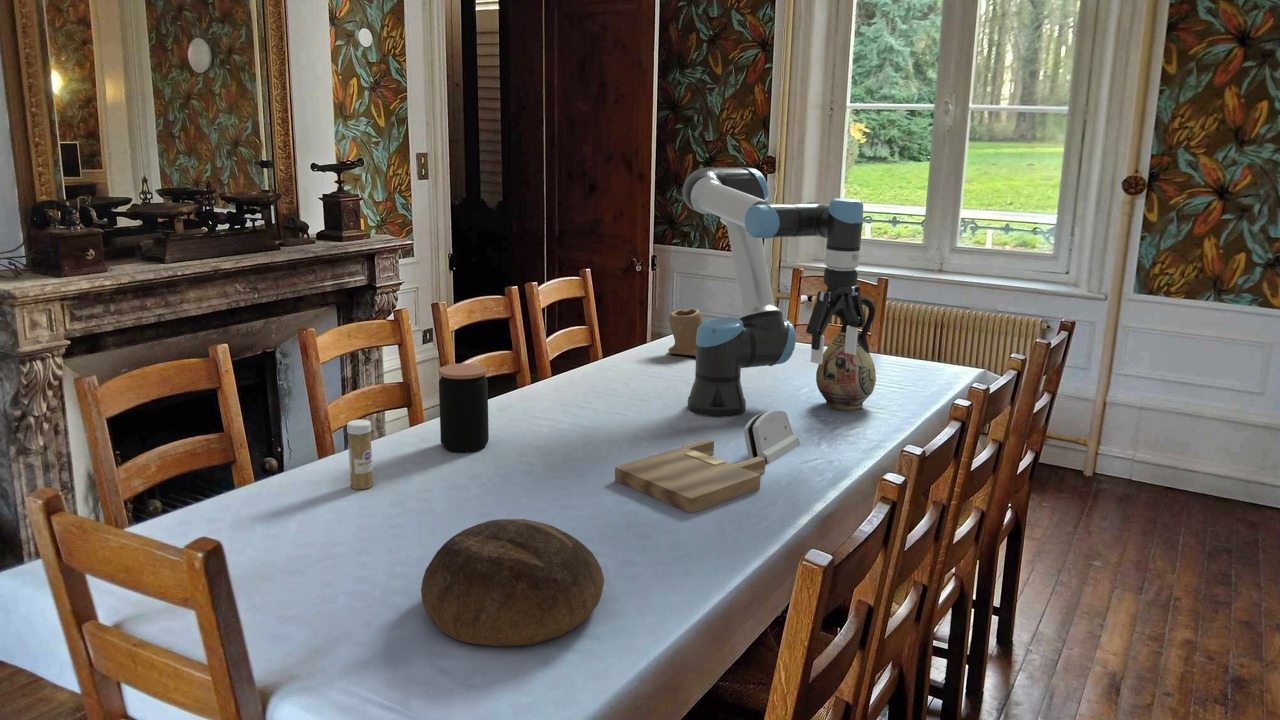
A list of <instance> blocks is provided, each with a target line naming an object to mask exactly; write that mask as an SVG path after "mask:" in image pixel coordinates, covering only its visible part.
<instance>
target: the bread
mask: <svg viewBox="0 0 1280 720" xmlns="http://www.w3.org/2000/svg"><path fill="white" fill-rule="evenodd" d="M604 584H605V577H604V573H603V569H602V568H601V565H600V563H599V561H598V560H597V558H596V556H595V555H594V553H593V552H592V551H591V550H590V549H589V548H588V547H587V546H586V545H585V544H583V543H582V542H581V541H580V540H579V539H577V538H576V537H574V536H573V535H571V534H570V533H568V532H565V531H564V530H561V529H559V528H557V527H556V526H554V525H550V524H547V523H545V522H539V521H535V520H530V519H524V518H517V519H516V518H515V519H514V518H501V519H491V520H487V521H484V522H481V523H477V524H476V525H473V526H469V527H468V528H464V529H463V530H461V531H460V532H458V533H456V534H455V535H453V536H452V537H451V538H449V539H448V540H447V541H446V542H445V543H443V545H442V546H440V548H439V549H438V550H437V551H436V553H435V554H434V556H433V558H432V559H431V560H430V563H429V564H428V566H427V567H425V571H424V574H423V577H422V581H421V585H420V586H421V587H420V592H421V593H420V595H421V602H422V604H423V608H424V610H425V611H426V613H427V615H428V616H429V617H430V619H431V621H432V622H433V623H434V625H435V626H436V627H437V628H438V629H439V630H440V631H441V632H442V633H443V634H446V636H449V637H451V638H452V639H455V640H456V641H457V640H458V641H461V642H465V643H468V644H469V643H470V644H474V645H479V644H481V646H487V645H499V646H498V647H521V646H520V645H524V646H531V644H532V645H535V643H536V644H539V643H542V642H546V641H549V640H551V639H552V640H553V639H554V638H558V637H561V636H562V635H564V634H567V633H568V632H571V631H573V629H575V628H576V627H578V626H580V625H581V624H582V623H583V622H584V621H586V620H587V618H589V617H590V615H591V614H592V613H593V612H594V611H595V609H596V608H597V606H598V605H599V603H600V601H601V598H602V595H603V592H604V591H603V589H604V586H605V585H604Z"/></svg>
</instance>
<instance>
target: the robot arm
mask: <svg viewBox="0 0 1280 720" xmlns="http://www.w3.org/2000/svg"><path fill="white" fill-rule="evenodd" d="M682 187H683V188H682V198H683V200H684V202H685V204H686V205H687V207H689V208H690V209H691V210H693V211H695V212H697V213H698V214H699V213H700V214H702V215H710V214H711V215H715V216H717V217H719V220H720V222H721V224H723V225H725V226H726V229H727V233H728V240H729V244H730V250H731V255H732V261H733V267H734V272H735V273H734V274H735V278H736V284H737V289H738V294H739V301H740V306H741V311H742V312H741V314H740V315H739V317H738V318H737V317H731V316H729V317H715V318H711V319H708V320H706V321H702V323H701V324H700V326H699V327H698V329H697V337H696V356H695V372H694V376H695V377H694V380H693V385H692V387H691V390H690V393H689V396H688V398H687V410H688V411H689V412H690V413H693V414H697V415H700V416H704V417H713V418H729V417H736V416H739V415H742V414H744V413H745V412H746V410H747V409H746V408H747V402H746V398H745V397H744V392H743V387H742V384H741V371H742V369H747V368H757V367H764V366H765V367H766V366H768V367H773V366H776V365H782V364H785V363H786V362H788V361H789V360H790V358H791V357H792V355H793V353H794V350H795V349H796V338H797V336H796V329H795V327H794V324H792V322H791V321H790V320H787V319H784V315H783V313H782V309H779V307H776V305H775V300H774V295H773V289H772V284H771V277H770V274H769V269H768V263H767V257H766V253H765V251H766V250H765V247H764V240H763V239H765V240H767V239H771V238H772V239H776V238H799V237H805V238H806V237H820V238H824V239H826V245H825V246H826V248H825V256H824V265H825V268H824V270H823V271H824V272H823V284H824V285H825V286H826V287H827V288H826V291H823V290H822V291H821V290H818V292H817V295H816V301H815V305H814V307H813V310H812V313H811V316H810V318H809V321H808V324H807V327H806V329H805V331H806V332H805V333H807V334H808V335H811V353H810V363H812V364H816V365H819V364H822V362H823V354H824V351H825V350H824V349H825V335H823V334H824V332H825V331H826V328H827V326H828V325H829V322H830V321H831V319H832V317H833V316H834V315H833V313H834V312H836V311H837V310H838V309H841V308H842V309H843V312H844V314H845V316H846V318H847V320H848V323H849V325H851V326H847V329H846V340H845V352H844V353H848V354H852V355H856V347H857V338H858V334H859V328H862V329H863V327H864V324H865V323H866V318H865V313H864V307H863V305H862V302H861V286H859V285H857V284H858V277H859V271H858V269H857V268H859V262H860V261H859V260H860V250H861V242H862V231H863V222H864V203H863V202H862V201H861V200H860V199H856V198H855V199H854V198H847V197H846V198H843V197H841V198H840V197H839V198H838V197H837V198H832V199H831V200H830V201H829V204H825V203H820V202H817V201H814V202H813V201H806V202H803V203H789V204H787V203H786V204H785V203H784V204H783V203H774V202H770V201H769V198H768V197H769V186H768V183H767V181H766V178H765V176H764V175H763V174H762V173H761V172H760V171H759V170H758V169H756V168H753V167H745V166H739V167H703V168H699V169H697V170H695V171H693V172H692V173H690V175H688V177H687V178H686V180H685V181H684V183H683V186H682ZM858 316H860V317H858Z"/></svg>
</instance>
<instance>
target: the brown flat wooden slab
mask: <svg viewBox="0 0 1280 720" xmlns="http://www.w3.org/2000/svg"><path fill="white" fill-rule="evenodd" d="M714 448H715V441H714V440H712V439H710V438H709V439H708V438H707V439H703V440H699V441H696V442H693V443H689V444H686V445H682V447H679V448H676V449H672V450H669V451H666V452H662V453H658V454H654V455H652V456H649V457H645V458H642V459H637V460H635V461H631V462H627V463H625V464H621V465H618V466H615V467H614V481H615V482H617V483H619V484H622V485H623V486H626V487H628V488H630V489H632V490H635V491H638V492H640V493H643V494H645V495H647V496H650V497H651V498H654V499H657V500H659V501H662V502H663V503H666V504H668V505H670V506H673V507H675V508H677V509H680V510H682V511H684V512H685V513H686V512H687V513H688V514H693V513H695V512H698V511H701V510H704V509H707V508H709V507H712V506H715V505H718V504H720V503H723V502H726V501H729V500H732V499H735V498H738V497H740V496H743V495H746V494H749V493H752V492H754V491H757V490H759V489H760V488H761V476H762V475H761V474H764V473H765V471H766V461H767V459H766V458H761V457H759V456H758V457H755V458H752V459H749V458H748V459H747V460H746V459H745V460H743V461H741V462H737V463H734V464H732V463H730V462H727V461H725V460H722V459H719V458H717V457H714V456H711V455H713V454H714V452H715V451H714V450H715V449H714Z"/></svg>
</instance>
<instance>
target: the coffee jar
mask: <svg viewBox="0 0 1280 720" xmlns="http://www.w3.org/2000/svg"><path fill="white" fill-rule="evenodd" d="M438 374H439V376H440V378H439V380H438V393H439V394H438V398H439V402H438V403H439V404H438V405H439V428H440V443H441V445H442V447H443V448H444V450H446V451H448V452H451V453H459V454H460V453H461V454H462V453H463V454H465V453H466V452H468V453H474V452H478V451H481V450H483V449H484V448H485V447H486V446H487V444H488V442H489V438H490V437H489V435H490V433H489V395H488V394H489V393H488V392H489V389H488V388H489V387H488V381H489V379H488V378H487V376H486V375H487V374H488V368H487V367H486V366H484V365H481V364H478V363H477V364H476V363H453V364H448V365H444V366H441V367H439V369H438ZM466 454H467V453H466Z"/></svg>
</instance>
